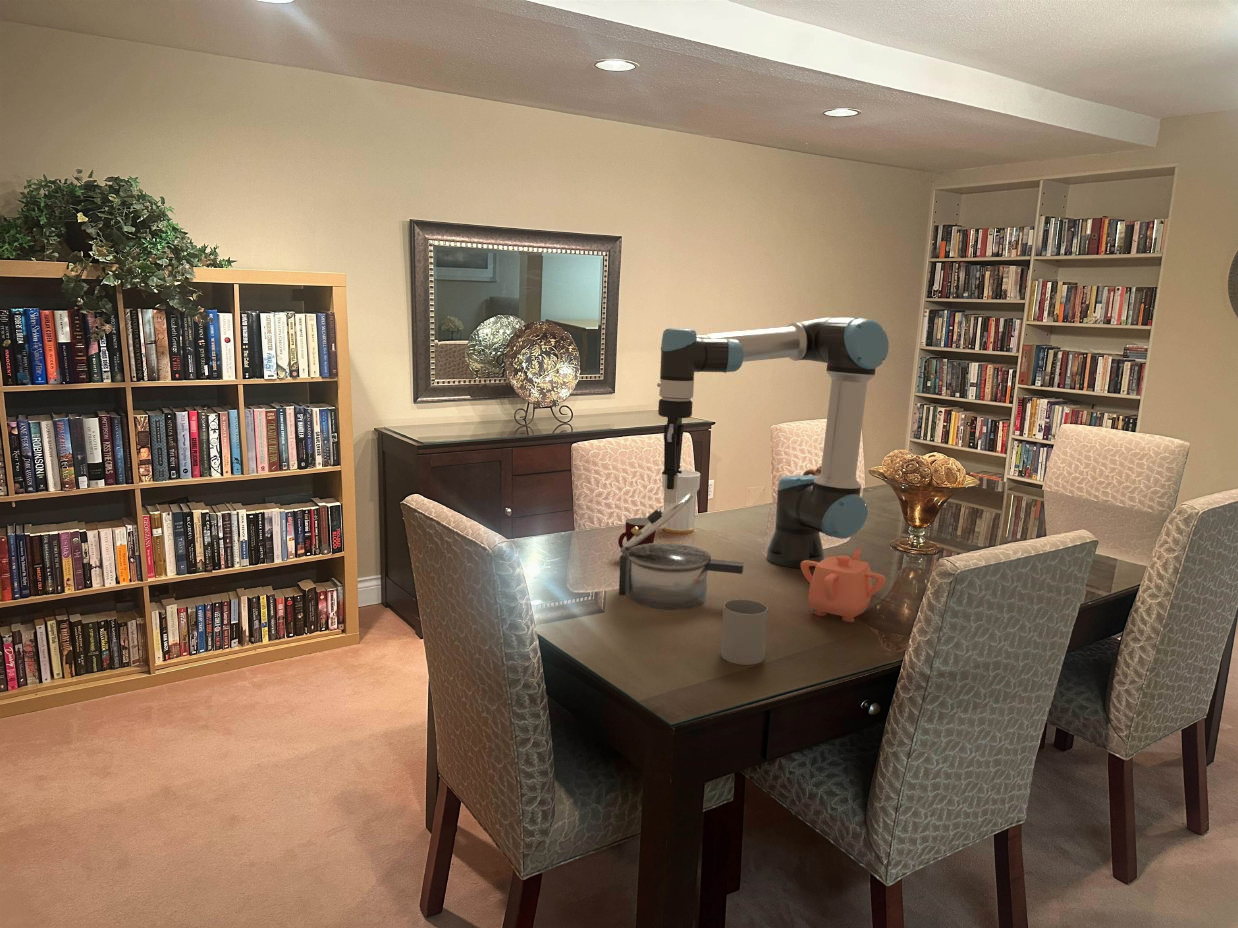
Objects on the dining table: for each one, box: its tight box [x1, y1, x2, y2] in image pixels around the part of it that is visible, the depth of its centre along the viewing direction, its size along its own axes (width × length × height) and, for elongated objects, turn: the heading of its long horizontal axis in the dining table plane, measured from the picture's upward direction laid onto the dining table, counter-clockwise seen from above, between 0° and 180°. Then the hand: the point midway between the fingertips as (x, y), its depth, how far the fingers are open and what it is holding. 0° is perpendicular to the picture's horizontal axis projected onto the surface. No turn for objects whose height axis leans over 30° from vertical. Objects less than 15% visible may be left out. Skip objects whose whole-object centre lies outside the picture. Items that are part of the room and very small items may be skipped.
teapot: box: [800, 548, 887, 623], centre depth 195 cm, size 17×16×13 cm
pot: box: [618, 542, 745, 611], centre depth 201 cm, size 28×19×10 cm
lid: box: [620, 493, 693, 554], centre depth 200 cm, size 20×19×3 cm
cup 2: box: [720, 598, 769, 666], centre depth 169 cm, size 8×8×10 cm
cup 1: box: [661, 469, 701, 534], centre depth 261 cm, size 11×11×17 cm
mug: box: [617, 517, 657, 551], centre depth 230 cm, size 10×8×10 cm
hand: (670, 502), depth 199 cm, fingers closed
